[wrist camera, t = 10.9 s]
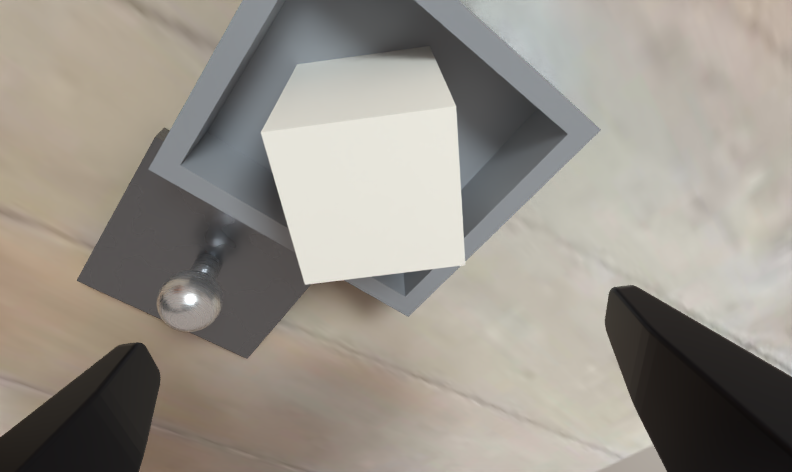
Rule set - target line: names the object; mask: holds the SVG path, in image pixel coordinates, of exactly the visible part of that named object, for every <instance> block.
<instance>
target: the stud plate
mask: <svg viewBox="0 0 792 472" xmlns="http://www.w3.org/2000/svg"><path fill="white" fill-rule="evenodd" d="M168 133H169V130H167V129H166V128H164V129H163V130H162V131H161V132H160V133H159V134H158V135H156V136H155V138H154V140H153V142H152V144H151V146H150V147H149V149H148V151H147V153H146V155H145V156H144V158H143V160H142V162H141V164H140V166H139V167H138V169H137V171H136V173H135V175H134V177H133V178H132V180H131V182H130V184H129V186H128V188H127V189H126V191H125V193H124V195H123V197H122V199H121V200H120V202H119V204H118V206H117V208H116V210H115V211H114V213H113V215H112V217H111V219H110V221H109V222H108V224H107V226H106V228H105V230H104V232H103V233H102V235H101V237H100V239H99V241H98V243H97V244H96V246H95V248H94V250H93V252H92V254H91V255H90V257H89V259H88V261H87V263H86V265H85V266H84V268H83V270H82V272H81V274H80V275H79V277H78V279H77V281H79V282H81V283H83V284H85V285H87V286H89V287H92V288H94V289H96V290H98V291H100V292H103V293H105V294H107V295H109V296H111V297H113V298H116V299H118V300H120V301H122V302H124V303H127V304H129V305H131V306H133V307H135V308H138V309H140V310H142V311H144V312H146V313H148V314H151V315H153V316H155V317H157V318H159V319H162V320H163V321H164V322H165V323H166V324H167V325H168V326H170V327H171V328H173V329H176V330H178V331H183V332H190V333H192V334H194V335H197V336H199V337H201V338H203V339H205V340H207V341H210V342H212V343H214V344H216V345H218V346H221V347H223V348H225V349H227V350H229V351H232V352H234V353H236V354H238V355H240V356H242V357H245V358H248V357H249V356H250V355H251V354H252V353H253V351H254V350H255V349H256V348H257V347H258V346H259V344H260V343H261V342H262V341H263V340H264V339H265V337H266V336H267V335H268V334H269V333H270V332H271V330H272V329H273V328H274V327H275V326H276V325H277V323H278V322H279V321H280V320H281V319H282V318H283V316H284V315H285V314H286V313H287V312H288V311H289V309H290V308H291V307H292V306H293V305H294V304H295V302H296V301H297V300H298V299H299V298H300V297H301V295H302V294H303V293H304V292H305V291H306V290H307V289H308V287H309V286H310V285H311V284H307V285H305V283H304V280H303V276H302V273H301V270H300V266H299V263H298V259H297V256H296V253H295V252H293V251H291V250H290V249H288V248H286V247H284V246H283V245H281V244H279V243H277V242H275V241H274V240H272V239H270V238H268V237H267V236H265V235H263V234H261V233H260V232H258V231H256V230H254V229H253V228H251V227H249V226H247V225H245V224H244V223H242V222H240V221H238V220H237V219H235V218H233V217H231V216H230V215H228V214H226V213H224V212H223V211H221V210H219V209H217V208H216V207H214V206H212V205H210V204H208V203H207V202H205V201H203V200H201V199H200V198H198V197H196V196H194V195H193V194H191V193H189V192H187V191H186V190H184V189H182V188H180V187H178V186H177V185H175V184H173V183H171V182H170V181H168V180H166V179H164V178H163V177H161V176H159V175H157V174H156V173H154V172H152V171H150V170H148V169H149V167H150V165H151V164H152V162H153V160H154V158H155V156H156V155H157V153H158V151H159V149H160V147H161V146H162V144H163V142H164V140H165V139H166V137H167V135H168Z"/></svg>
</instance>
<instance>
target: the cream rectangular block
mask: <svg viewBox="0 0 792 472" xmlns="http://www.w3.org/2000/svg"><path fill="white" fill-rule="evenodd" d="M261 135H262V138H263V142H264V145H265V149H266V152H267V156H268V159H269V163H270V166H271V170H272V173H273V176H274V180H275V183H276V187H277V190H278V194H279V197H280V201H281V204H282V207H283V211H284V214H285V218H286V221H287V225H288V228H289V232H290V235H291V238H292V242H293V245H294V249H295V252H296V256H297V259H298V263H299V266H300V270H301V273H302V276H303V280H304V283H305V285H307V284H315V283H323V282H331V281H339V280H348V279H356V278H364V277H372V276H380V275H388V274H397V273H405V272H413V271H421V270H429V269H437V268H445V267H454V266H462V265H465V250H464V233H463V215H462V198H461V181H460V164H459V146H458V129H457V112H456V105H455V102H454V100H453V98H452V96H451V93H450V91H449V89H448V87H447V84H446V82H445V80H444V78H443V75H442V73H441V71H440V69H439V66H438V64H437V62H436V60H435V57H434V55H433V53H432V51H431V48H430V46H426V47H419V48H412V49H405V50H397V51H390V52H383V53H376V54H369V55H362V56H354V57H347V58H340V59H333V60H326V61H318V62H311V63H304V64H297V66H296V67H295V69H294V71H293V73H292V75H291V77H290V79H289V81H288V82H287V84H286V86H285V88H284V90H283V92H282V94H281V95H280V97H279V99H278V101H277V103H276V105H275V107H274V109H273V110H272V112H271V114H270V116H269V118H268V120H267V122H266V124H265V125H264V127H263V129H262V131H261Z"/></svg>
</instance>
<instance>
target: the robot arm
mask: <svg viewBox="0 0 792 472" xmlns="http://www.w3.org/2000/svg"><path fill="white" fill-rule="evenodd" d="M605 327H606V331H607V334H608V337H609V340H610V342H611V345H612V348H613V351H614V353H615V356H616V359H617V361H618V364H619V367H620V370H621V372H622V375H623V378H624V381H625V383H626V386H627V389H628V391H629V394H630V396H631V399H632V402H633V404H634V406H635V408H636V410H637V413H638V415H639V417H640V419H641V421H642V423H643V425H644V427H645V429H646V431H647V433H648V435H649V437H650V439H651V441H652V443H653V445H654V447H655V449H656V451H657V452H658V455H659V457H660V459H661V460H662V462H663V464H664V466H665V468H666V470H667V472H792V377H791V376H790V375H788V374H786V373H784V372H783V371H781V370H779V369H777V368H776V367H774V366H772V365H771V364H769V363H767V362H765V361H764V360H762V359H760V358H759V357H757V356H755V355H753V354H752V353H750V352H748V351H747V350H745V349H743V348H741V347H740V346H738V345H736V344H735V343H733V342H731V341H729V340H728V339H726V338H724V337H723V336H721V335H719V334H717V333H716V332H714V331H712V330H711V329H709V328H707V327H705V326H704V325H702V324H700V323H698V322H697V321H695V320H693V319H692V318H690V317H688V316H686V315H685V314H683V313H681V312H680V311H678V310H676V309H674V308H673V307H671V306H669V305H668V304H666V303H664V302H662V301H661V300H659V299H657V298H656V297H654V296H652V295H650V294H649V293H647V292H645V291H644V290H642V289H640V288H638V287H636V286H633V285H628V286H619V287H614V288H612V289H611V290H610V292H609V296H608V303H607V310H606V316H605ZM159 386H160V372H159V369H158V367H157V366H156V364H155V362H154V360H153V359H152V357H151V355H150V353H149V351H148V350H147V348H146V346H145V345H143V344H142V343H138V342H137V343H128V344H122V345H119V346H117V347H116V348H114V349H113V350H112V351H110V352H109V353H108V354H107V355H105V356H104V357H103V358H102V359H100V360H99V361H98V362H96V363H95V364H94V365H93V366H91V367H90V368H89V369H87V370H86V371H85V372H84V373H82V374H81V375H80V376H78V377H77V378H76V379H75V380H73V381H72V382H71V383H69V384H68V385H67V386H66V387H64V388H63V389H62V390H61V391H59V392H58V393H57V394H55V395H54V396H53V397H52V398H50V399H49V400H48V401H46V402H45V403H44V404H43V405H41V406H40V407H39V408H37V409H36V410H35V411H34V412H32V413H31V414H30V415H28V416H27V417H26V418H25V419H23V420H22V421H21V422H20V423H18V424H17V425H16V426H14V427H13V428H12V429H11V430H9V431H8V432H7V433H5V434H4V435H3V436H2V437H0V472H139V469H140V466H141V462H142V459H143V456H144V452H145V448H146V444H147V440H148V435H149V431H150V426H151V422H152V417H153V413H154V408H155V404H156V399H157V395H158V391H159Z"/></svg>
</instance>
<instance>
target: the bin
mask: <svg viewBox="0 0 792 472" xmlns="http://www.w3.org/2000/svg"><path fill="white" fill-rule="evenodd" d="M426 46H430V48H431V51H432V53H433V55H434V57H435V60H436V62H437V64H438V66H439V69H440V71H441V73H442V75H443V78H444V80H445V82H446V84H447V87H448V89H449V91H450V93H451V96H452V98H453V100H454V102H455V105H456V112H457V129H458V146H459V164H460V181H461V198H462V215H463V233H464V250H465V261H466V260H467V259H468V258H469V257H470V256H471V255H472V254H473V253H475V252H476V251H477V250H478V249H479V248H480V247H481V246H482V245H483V244H484V243H485V242H486V241H487V240H488V239H489V238H490V237H491V236H492V235H493V234H494V233H495V232H496V231H497V230H498V229H499V228H500V227H501V226H502V225H503V224H504V223H505V222H506V221H508V220H509V219H510V218H511V217H512V216H513V215H514V214H515V213H516V212H517V211H518V210H519V209H520V208H521V207H522V206H523V205H524V204H525V203H526V202H527V201H528V200H529V199H530V198H531V197H532V196H533V195H534V194H535V193H536V192H537V191H538V190H539V189H541V188H542V187H543V186H544V185H545V184H546V183H547V182H548V181H549V180H550V179H551V178H552V177H553V176H554V175H555V174H556V173H557V172H558V171H559V170H560V169H561V168H562V167H563V166H564V165H565V164H566V163H567V162H568V161H569V160H570V159H571V158H572V157H574V156H575V155H576V154H577V153H578V152H579V151H580V150H581V149H582V148H583V147H584V146H585V145H586V144H587V143H588V142H589V141H590V140H591V139H592V138H593V137H594V136H595V135H596V134H597V133H598V132H599V131H600V130H601V129H599V128H598V127H597V126H596V125H595V124H594V123H593V122H592V121H591V120H590V119H589V118H588V117H586V116H585V115H584V114H583V113H582V112H581V111H580V110H579V109H578V108H577V107H576V106H575V105H573V104H572V103H571V102H570V101H569V100H568V99H567V98H566V97H565V96H564V95H563V94H561V93H560V92H559V91H558V90H557V89H556V88H555V87H554V86H553V85H552V84H550V83H549V82H548V81H547V80H546V79H545V78H544V77H543V76H542V75H541V74H539V73H538V72H537V71H536V70H535V69H534V68H533V67H532V66H531V65H530V64H529V63H527V62H526V61H525V60H524V59H523V58H522V57H521V56H520V55H519V54H518V53H516V52H515V51H514V50H513V49H512V48H511V47H510V46H509V45H508V44H507V43H505V42H504V41H503V40H502V39H501V38H500V37H499V36H498V35H497V34H496V33H494V32H493V31H492V30H491V29H490V28H489V27H488V26H487V25H486V24H485V23H484V22H482V21H481V20H480V19H479V18H478V17H477V16H476V15H475V14H474V13H473V12H471V11H470V10H469V9H468V8H467V7H466V6H465V5H464V4H463V3H462V2H460V1H459V0H243V1H242V2H241V4H240V6H239V8H238V10H237V11H236V13H235V15H234V17H233V19H232V20H231V22H230V24H229V26H228V28H227V29H226V31H225V33H224V35H223V36H222V38H221V40H220V42H219V44H218V45H217V47H216V49H215V51H214V53H213V54H212V56H211V58H210V60H209V62H208V63H207V65H206V67H205V69H204V70H203V72H202V74H201V76H200V78H199V79H198V81H197V83H196V85H195V87H194V88H193V90H192V92H191V94H190V96H189V97H188V99H187V101H186V103H185V105H184V106H183V108H182V110H181V112H180V113H179V115H178V117H177V119H176V121H175V122H174V124H173V126H172V128H171V130H170V131H169V133H168V135H167V137H166V139H165V140H164V142H163V144H162V146H161V147H160V149H159V151H158V153H157V155H156V156H155V158H154V160H153V162H152V164H151V165H150V167H149V169H148V170H150V171H152V172H154V173H156V174H157V175H159V176H161V177H163V178H164V179H166V180H168V181H170V182H171V183H173V184H175V185H177V186H178V187H180V188H182V189H184V190H186V191H187V192H189V193H191V194H193V195H194V196H196V197H198V198H200V199H201V200H203V201H205V202H207V203H208V204H210V205H212V206H214V207H216V208H217V209H219V210H221V211H223V212H224V213H226V214H228V215H230V216H231V217H233V218H235V219H237V220H238V221H240V222H242V223H244V224H245V225H247V226H249V227H251V228H253V229H254V230H256V231H258V232H260V233H261V234H263V235H265V236H267V237H268V238H270V239H272V240H274V241H275V242H277V243H279V244H281V245H283V246H284V247H286V248H288V249H290V250H291V251H293V252H295V249H294V245H293V242H292V238H291V235H290V232H289V228H288V225H287V221H286V218H285V214H284V211H283V207H282V204H281V201H280V197H279V194H278V190H277V187H276V183H275V180H274V176H273V173H272V170H271V166H270V163H269V159H268V156H267V152H266V149H265V145H264V142H263V138H262V135H261V131H262V129H263V127H264V125H265V124H266V122H267V120H268V118H269V116H270V114H271V112H272V110H273V109H274V107H275V105H276V103H277V101H278V99H279V97H280V95H281V94H282V92H283V90H284V88H285V86H286V84H287V82H288V81H289V79H290V77H291V75H292V73H293V71H294V69H295V67H296V66H297V64H304V63H311V62H318V61H326V60H333V59H340V58H347V57H354V56H362V55H369V54H376V53H383V52H390V51H397V50H405V49H412V48H419V47H426ZM295 253H296V252H295ZM459 267H460V266H454V267H445V268H437V269H429V270H421V271H413V272H405V273H397V274H388V275H380V276H372V277H364V278H356V279H348V280H344V281H346V282H348V283H350V284H351V285H353V286H355V287H357V288H358V289H360V290H362V291H364V292H365V293H367V294H369V295H371V296H372V297H374V298H376V299H378V300H380V301H381V302H383V303H385V304H387V305H388V306H390V307H392V308H394V309H395V310H397V311H399V312H401V313H402V314H404V315H406V316H408V317H409V316H410V315H411V314H412V313H413V312H414V311H415V310H416V309H417V308H418V307H419V306H420V305H421V304H422V303H423V302H424V301H425V300H426V299H427V298H428V297H429V296H430V295H431V294H432V293H433V292H434V291H435V290H436V289H437V288H438V287H439V286H440V285H442V284H443V283H444V282H445V281H446V280H447V279H448V278H449V277H450V276H451V275H452V274H453V273H454V272H455V271H456V270H457V269H458V268H459Z"/></svg>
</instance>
